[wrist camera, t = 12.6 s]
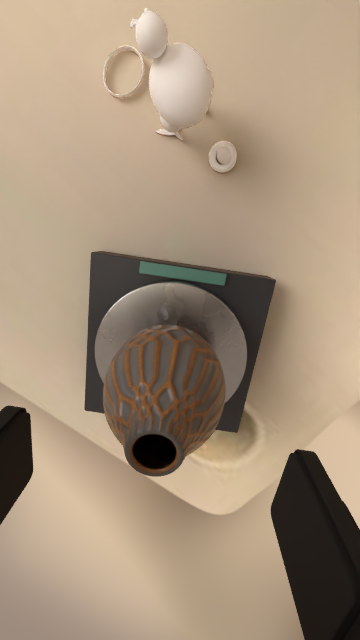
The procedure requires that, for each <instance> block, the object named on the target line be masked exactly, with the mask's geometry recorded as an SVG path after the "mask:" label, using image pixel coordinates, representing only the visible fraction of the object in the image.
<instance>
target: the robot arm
mask: <svg viewBox="0 0 360 640" xmlns="http://www.w3.org/2000/svg"><path fill="white" fill-rule="evenodd" d="M32 473H33V458H32V439H31V420H30V414H29V413H27V412H26V409H25V408H21V407H14V406H6V407H4V408H3V409H2V410H1V411H0V524H1V523H2V521H3V520H4V518H5V517H6V515H7V514H8V512H9V511H10V509H11V508H12V506H13V505H14V503H15V502H16V500H17V499H18V497H19V496H20V494H21V493H22V491H23V490H24V488H25V487H26V485H27V483H28V482H29V480H30V478H31V476H32ZM271 517H272V521H273V525H274V528H275V532H276V536H277V539H278V543H279V546H280V550H281V554H282V558H283V561H284V565H285V569H286V572H287V576H288V580H289V583H290V587H291V591H292V594H293V598H294V601H295V605H296V609H297V613H298V616H299V620H300V624H301V627H302V631H303V635H304V639H305V640H360V529H359V528H358V526H357V524H356V522H355V521H354V519H353V517H352V515H351V513H350V512H349V510H348V508H347V506H346V505H345V503H344V502H343V501H342V500H341V498H340V496H339V495H338V493H337V491H336V489H335V487H334V486H333V484H332V482H331V480H330V478H329V477H328V475H327V473H326V471H325V469H324V467H323V466H322V464H321V462H320V460H319V458H318V456H317V455H316V453H314V452H311V451H305V450H299V449H297V450H295V452H294V453H291V454H290V455H289V458H288V461H287V463H286V466H285V469H284V472H283V474H282V477H281V480H280V483H279V486H278V488H277V491H276V494H275V497H274V500H273V502H272V505H271Z"/></svg>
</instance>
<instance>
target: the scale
mask: <svg viewBox="0 0 360 640" xmlns="http://www.w3.org/2000/svg"><path fill="white" fill-rule="evenodd" d="M159 281H180V282H186V283H190V284H194V285H196V286H199V287H202V288H204V289H206V290H208V291H210V292H211V293H213V294H214V295H216V296H217V297H219V298H220V299H221V300H222V301H223V302H224V303H225V304H226V305H227V306H228V307H229V308H230V309H231V311H232V312H233V313H234V315H235V317H236V318H237V320H238V322H239V323H240V325H241V328H242V330H243V332H244V336H245V340H246V345H247V363H246V369H245V372H244V375H243V378H242V380H241V383H240V385H239V387H238V388H237V390H236V391H235V393H234V394H233V395H232V396H231V398H230V399H229V400H228V401H227V402H226V403H225V404H224V408H223V411H222V415H221V418H220V420H219V423H218V425H217V427H216V429H215V430H222V431H229V432H236V433H237V432H238V429H239V425H240V421H241V417H242V413H243V409H244V405H245V401H246V397H247V393H248V389H249V385H250V381H251V377H252V373H253V369H254V365H255V361H256V357H257V353H258V349H259V345H260V342H261V338H262V334H263V330H264V326H265V322H266V318H267V314H268V310H269V306H270V302H271V298H272V294H273V290H274V286H275V282H276V280H275V279H273V278H270V277H268V276H263V275H257V274H250V273H243V272H237V271H230V270H223V269H217V268H210V267H203V266H197V265H190V264H183V263H177V262H170V261H163V260H157V259H150V258H143V257H137V256H130V255H123V254H117V253H110V252H103V251H98V252H92V253H91V269H90V293H89V317H88V341H87V365H86V389H85V410H86V411H93V412H99V413H105V412H104V406H103V387H104V383H103V382H102V380H101V377H100V375H99V372H98V369H97V366H96V360H95V340H96V335H97V332H98V328H99V326H100V324H101V322H102V320H103V318H104V316H105V315H106V313H107V312H108V310H109V309H110V308H111V307H112V306H113V305H114V304H115V303H116V302H117V301H118V300H119V299H120V298H122V297H123V296H124V295H126V294H127V293H129V292H130V291H132V290H134V289H136V288H138V287H140V286H143V285H146V284H149V283H153V282H159Z"/></svg>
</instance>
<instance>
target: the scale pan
mask: <svg viewBox="0 0 360 640" xmlns="http://www.w3.org/2000/svg"><path fill="white" fill-rule="evenodd" d="M157 325H177V326H181V327H184V328H187V329H189V330H191V331H193V332H195V333H197V334H198V335H200V336H201V337H202V338H203V339H204V340H206V342H207V343H208V344H209V345H210V346H211V347H212V348H213V350H214V351H215V353H216V355H217V357H218V359H219V361H220V363H221V366H222V369H223V373H224V378H225V385H226V394H225V403H226V402H227V401H228V400H229V399H230V398H231V396H232V395H233V394H234V393H235V391H236V390H237V388H238V387H239V385H240V383H241V380H242V378H243V375H244V372H245V369H246V363H247V345H246V340H245V336H244V332H243V330H242V328H241V325H240V323H239V322H238V320H237V318H236V317H235V315H234V313H233V312H232V311H231V309H230V308H229V307H228V306H227V305H226V304H225V303H224V302H223V301H222V300H221V299H220V298H219V297H217V296H216V295H214V294H213V293H211V292H210V291H208V290H206V289H204V288H202V287H199V286H196V285H194V284H190V283H186V282H180V281H159V282H153V283H149V284H146V285H143V286H140V287H138V288H136V289H134V290H132V291H130V292H129V293H127V294H126V295H124V296H123V297H122V298H120V299H119V300H118V301H117V302H116V303H115V304H114V305H113V306H112V307H111V308H110V309H109V310H108V312H107V313H106V315H105V316H104V318H103V320H102V322H101V324H100V326H99V328H98V332H97V335H96V340H95V360H96V366H97V369H98V372H99V375H100V377H101V380H102V382H103V383H104V381H105V376H106V373H107V370H108V367H109V365H110V363H111V361H112V359H113V357H114V356H115V354H116V353H117V351H118V350H119V349H120V347H121V346H122V345H123V344H124V343H125V342H126V341H127V340H128V339H129V338H130V337H132V336H133V335H135V334H136V333H138V332H140V331H142V330H144V329H146V328H149V327H152V326H157ZM225 403H224V404H225Z"/></svg>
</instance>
